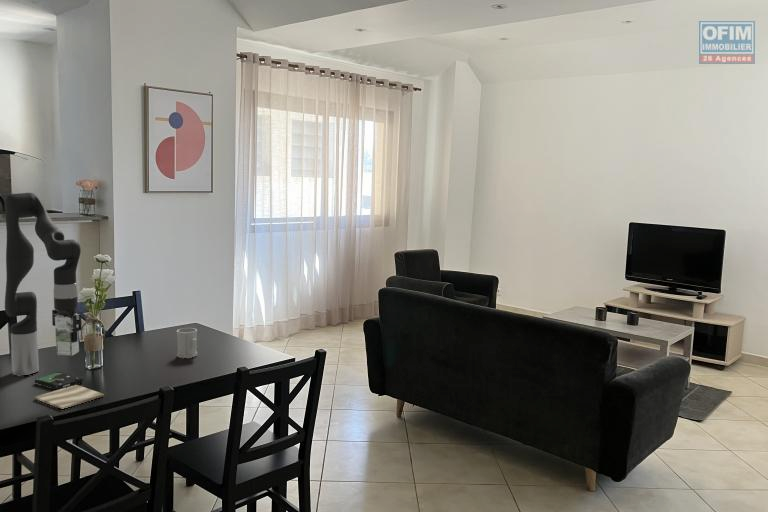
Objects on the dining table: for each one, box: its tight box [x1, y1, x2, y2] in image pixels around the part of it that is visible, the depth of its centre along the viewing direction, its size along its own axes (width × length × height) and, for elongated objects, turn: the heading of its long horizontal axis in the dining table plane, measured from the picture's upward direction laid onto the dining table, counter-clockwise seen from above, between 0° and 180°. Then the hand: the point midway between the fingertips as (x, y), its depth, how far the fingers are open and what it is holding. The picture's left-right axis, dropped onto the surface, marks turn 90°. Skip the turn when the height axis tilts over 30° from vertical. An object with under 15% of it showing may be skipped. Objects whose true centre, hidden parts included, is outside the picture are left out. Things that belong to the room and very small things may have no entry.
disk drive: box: [34, 371, 84, 390], centre depth 241 cm, size 10×3×15 cm
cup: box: [176, 327, 198, 359], centre depth 280 cm, size 10×9×12 cm
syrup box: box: [54, 315, 80, 357], centre depth 223 cm, size 6×6×14 cm
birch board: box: [34, 385, 105, 409], centre depth 226 cm, size 17×16×1 cm
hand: (67, 340), depth 223 cm, fingers closed on syrup box, 8 cm apart
